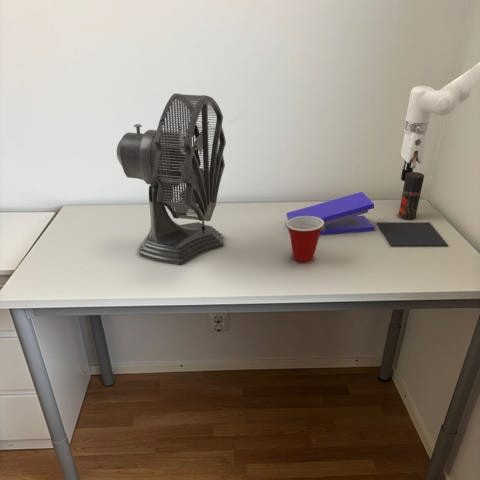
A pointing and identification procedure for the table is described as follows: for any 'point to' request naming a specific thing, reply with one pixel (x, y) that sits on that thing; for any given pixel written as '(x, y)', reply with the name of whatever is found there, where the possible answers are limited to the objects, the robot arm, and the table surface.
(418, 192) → the deodorant
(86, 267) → the table surface
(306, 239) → the plastic cup
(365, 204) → the stapler
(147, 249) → the desk fan
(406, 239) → the mat
